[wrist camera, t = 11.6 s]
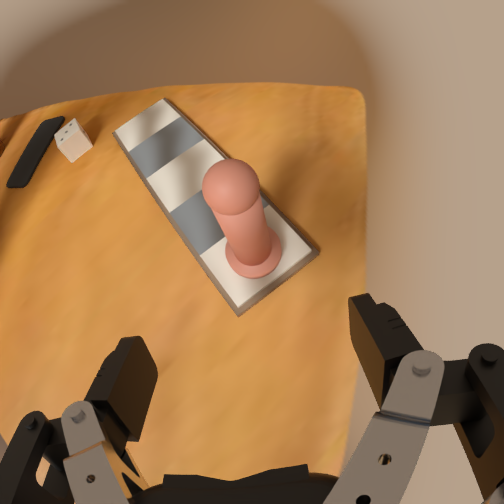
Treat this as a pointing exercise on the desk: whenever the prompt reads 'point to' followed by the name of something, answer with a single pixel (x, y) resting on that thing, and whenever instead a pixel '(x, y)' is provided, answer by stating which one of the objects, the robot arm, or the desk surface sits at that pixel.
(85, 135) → the die
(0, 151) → the disposable coffee cup
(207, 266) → the board
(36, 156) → the phone
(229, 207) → the pawn
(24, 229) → the desk surface
